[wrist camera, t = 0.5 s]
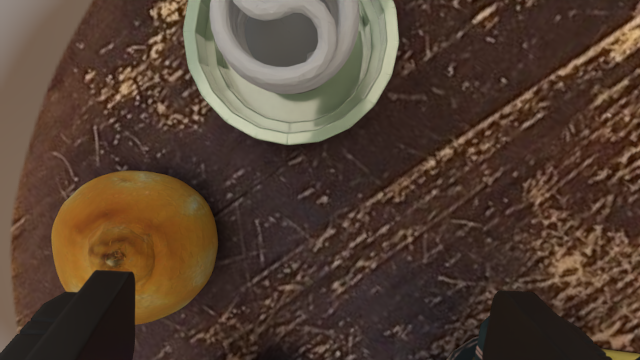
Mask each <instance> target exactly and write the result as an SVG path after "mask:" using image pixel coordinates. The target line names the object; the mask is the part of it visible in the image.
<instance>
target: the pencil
mask: <svg viewBox="0 0 640 360" xmlns="http://www.w3.org/2000/svg"><path fill="white" fill-rule="evenodd" d="M602 350H603V351H604V352H605V353H606V356H610V357H611V358H612V359H613V360H635V359H637V358H638V357H639V356H640V354H637V353H629V352H622V351H614V350H606V349H602Z"/></svg>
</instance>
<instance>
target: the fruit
mask: <svg viewBox="0 0 640 360" xmlns="http://www.w3.org/2000/svg"><path fill="white" fill-rule="evenodd" d="M51 237H52V250H53V257H54V262H55V266H56V271H57V273H58V276H59V278H60V281H61V283H62V285H63V287H64V289H65V290H66V291H67V292H78V291H79V290H80V289H81V287H82V286H83V285H84V284H85V282H86V281H87V280H88V278H89V277H90V276H91V275H92V273H93V272H94V271H95V270H111V271H131V272H133V273H134V276H135V324H142V323H147V322H151V321H154V320H157V319H160V318H162V317H165V316H167V315H169V314H172V313H174V312H176V311H178V310H179V309H181V308H182V307H184V306H185V305H187V304H188V303H189V302H190V301H191V300H192V299H193V298H194V297H195V296H196V295H197V294H198V293H199V292H200V291H201V289H202V288H203V287H204V286H205V284H206V283H207V281H208V280H209V278H210V276H211V274H212V271H213V268H214V265H215V260H216V254H217V248H218V236H217V229H216V224H215V220H214V217H213V214H212V212H211V210H210V207H209V205H208V204H207V202H206V201H205V199H204V198H203V197H202V196H201V195H200V194H199V193H198V192H197V191H196V190H194V189H193V188H191V187H190V186H189V185H187V184H186V183H184V182H182V181H180V180H179V179H177V178H174V177H171V176H168V175H164V174H159V173H154V172H148V171H120V172H114V173H110V174H106V175H103V176H100V177H97V178H95V179H93V180H91V181H89V182H87V183H86V184H84V185H83V186H82V187H80V188H79V189H78V190H77V191H76V192H75V193H74V194H73V195H72V196H71V197H70V198H69V199H68V200H66V201H65V202H64V204H63V205H62V207H61V208H60V210H59V212H58V215H57V217H56V219H55V221H54V224H53V228H52V236H51Z"/></svg>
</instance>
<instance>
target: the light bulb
mask: <svg viewBox="0 0 640 360" xmlns="http://www.w3.org/2000/svg"><path fill="white" fill-rule="evenodd" d="M210 23H211V29H212V33H213V36H214V39H215V42H216V44H217V46H218V48H219V50H220V51H221V53H222V54H223V57H224V59H225V60H226V61H227V62H228V64H229V65H230V66H231V68H232V69H233V70H234V71H235V72H236V73H238V74H239V75H240V76H241V77H242V78H244V79H245V80H247V81H248V82H250V83H251V84H253V85H255V86H257V87H259V88H261V89H264V90H266V91H270V92H275V93H279V94H301V93H305V92H308V91H312V90H315V89H316V88H318V87H319V86H321V85H322V84H323V83H325V82H327V81H328V80H329V79H330V78H332V77H333V76H334V75H335V74H337V72H338V71H339V70H340V69H341V68H342V66H343V65H344V64H345V62H346V61H347V59H348V58H349V56H350V54H351V52H352V50H353V47H354V45H355V42H356V38H357V34H358V26H359V6H358V0H211V2H210Z"/></svg>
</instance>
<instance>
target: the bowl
mask: <svg viewBox="0 0 640 360" xmlns="http://www.w3.org/2000/svg"><path fill="white" fill-rule="evenodd" d="M210 2H211V0H188V3H187V9H186V15H185V21H184V27H183V37H184V44H185V52H186V59H187V65H188V68H189V70H190V73H191V75H192V77H193V79H194V81H195V83H196V85H197V87H198V89H199V91H200V93H201V96H202V97H203V98H204V100H205V101H206V102H207V103H208V104H209V105H210V106H211V107H212V108H213V109H214V110H215V111H216V113H217V114H218V115H219V116H220V117H221V118H222V119H223V120H224V121H225V122H226V123H228V124H229V125H231V126H233V127H235V128H237V129H238V130H240V131H242V132H244V133H245V134H247V135H249V136H251V137H253V138H255V139H258V140H263V141H268V142H273V143H278V144H283V145H295V144H304V143H313V142H319V141H323V140H325V139H327V138H329V137H332V136H334V135H336V134H338V133H340V132H343V131H345V130H347V129H349V128H350V127H352V126H353V125H354V124H355V123H356V122H357V121H358V120H360V119H361V118H362V117H363V116H364V115H365V114H366V113H367V112H368V111H369V110H370V109H372V108H373V107H374V105H375V104H376V103H377V101H378V99H379V97H380V96H381V94H382V92H383V91H384V89H385V87H386V85H387V84H388V82H389V80H390V78H391V76H392V73H393V69H394V64H395V60H396V55H397V50H398V46H399V34H398V23H397V12H396V8H395V4H394V2H393V0H358V6H359V26H358V34H357V38H356V42H355V45H354V47H353V50H352V52H351V54H350V56H349V58H348V59H347V61H346V62H345V64H344V65H343V66H342V68H341V69H340V70H339V71H338V72H337V74H335V75H334V76H333V77H332V78H330V79H329V80H328V81H327V82H325V83H323V84H322V85H321V86H319V87H318V88H316V89H315V90H312V91H308V92H305V93H301V94H279V93H275V92H270V91H266V90H264V89H261V88H259V87H257V86H255V85H253V84H251V83H250V82H248V81H247V80H245V79H244V78H242V77H241V76H240V75H239V74H238V73H236V72H235V71H234V70H233V69H232V68H231V66H230V65H229V64H228V62H227V61H226V60H225V59H224V57H223V54H222V53H221V51H220V50H219V48H218V46H217V44H216V42H215V39H214V36H213V33H212V29H211V23H210Z"/></svg>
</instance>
